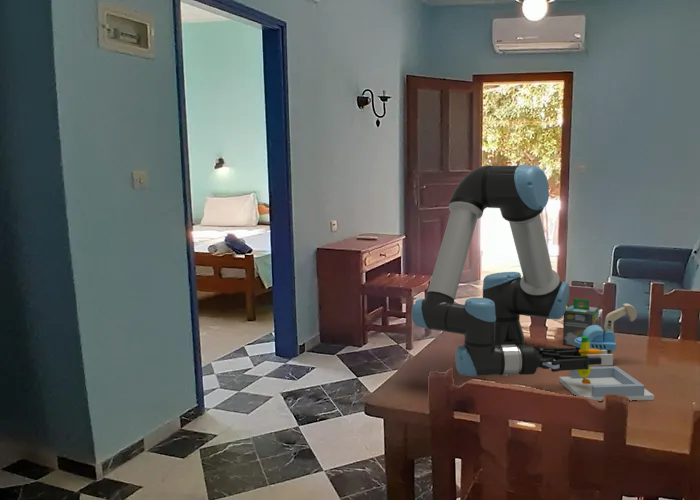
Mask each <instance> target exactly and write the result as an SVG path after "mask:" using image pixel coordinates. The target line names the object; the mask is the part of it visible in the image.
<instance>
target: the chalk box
mask: <svg viewBox="0 0 700 500" xmlns="http://www.w3.org/2000/svg"><path fill="white" fill-rule="evenodd" d="M579 303H583V304H584V305H579ZM599 312H600V309H599V307H597V306H590V302H589V300H588V299H585V298H584V299H583V298H574V299H573V305H570V306H567V308H566V311H565V313H564V315H563V316H562V318H563V324H562V325H563V326H562V327H563V328H562V329H563V331H562V335H563V336H562V338H563V339H562V340H563V341H562V344H563V345H564V346H565V345H566V346H573V347H575V345H574V340H575V339H577V338H578V337H582V335H583V332H584V330H585V329H586V328H587V327H589V326H591V325H599V322H600V321H599V319H600V318H599V317H600V314H599ZM599 326H600V325H599Z"/></svg>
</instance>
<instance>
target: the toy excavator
mask: <svg viewBox="0 0 700 500" xmlns="http://www.w3.org/2000/svg"><path fill="white" fill-rule="evenodd" d="M622 306H623V307H622ZM622 306H621V307H620V308H618V309H615V310H613V311H611V312H609V313H607V314H606V315H605V319H604V324H603V325H604V326H603V327H601V325H591V326H589V327H587V328H586V329H585V330H584V332H583V335H582V337H583V336H587V337H588V340H589V342H590V345H589V348H590V349H599V350H607V354H612V351H617V343H616V340H615V339H616V335H615V332H614V327H615V326H614V324H615V321H617V320H619V319H620V318H622V317H624V316H626V315H627V316H628V320H629V322H634V321H635V320H636V319H637V317H638V312H637V309H636V308H635V307H634V306H633V305H631V304H630V303H622ZM581 340H582V338H581V337H578V338H577V339H575V340H574V345H575V346H574V348H575V350H576V347H580V349H581Z"/></svg>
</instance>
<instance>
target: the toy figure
mask: <svg viewBox="0 0 700 500" xmlns="http://www.w3.org/2000/svg"><path fill="white" fill-rule="evenodd" d="M581 338H582V340H581V349H580V350H579V353H581V356H586V354H601V353H602V351H601V350H599V349H590V348H589V345H590V342H589V340H588V337H587V336H583V337H581ZM591 367H592V366H589V367H588V369H587V370H586V369H580V370H577V371H578V373H579V375H580V376H581V377H583V380H582V383H584V384H591V382H590V380H588V379H586V377H587V376H588V375H589V374H590V371H591Z"/></svg>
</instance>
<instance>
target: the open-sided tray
mask: <svg viewBox="0 0 700 500" xmlns="http://www.w3.org/2000/svg"><path fill="white" fill-rule="evenodd" d="M590 367H591V371H590V374H589V375H588V376H587V377H586V379H588V380H590V382H591V384H584V383H582V380H583V377H581V376H580V375H579V373H578V371H577V370H569V371H570V373H569V374H570V375H569V376H559V377H558V381H559V383H560V384H561V385H562V386H563V387H565V388H566V389H567V390H568V391H569V392H570V393H571V394H572V395H573V394H574V395H573V396H575V395H577V396H584V397H587V398H589V399H593V400H599V401H601V400H602V399H603V398H604V396H605V395H606V394H617V395H622V396H626V397H628V398H629V400H630V401H632V400H637V401H654V400H655V395H654V394H653V393H652V392H650V391H649V390H648V389H646V388H645V385H644V384H643V383H641V382H640V381H638V380H637V379H636V378H634V377H633V376H631V375H630V374H628V373H627V372H625V371H624V370H622V369H621V368H620V367H618V365H616V366H615V365H614V366H613V365H605V366H590ZM632 402H633V401H632Z"/></svg>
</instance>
